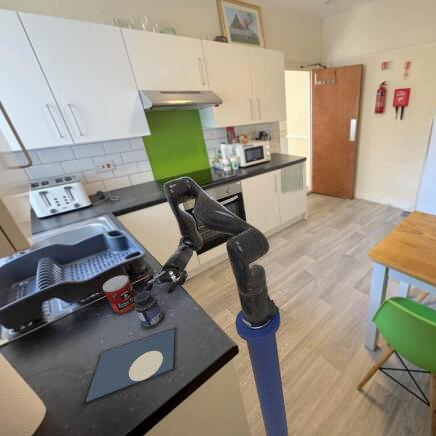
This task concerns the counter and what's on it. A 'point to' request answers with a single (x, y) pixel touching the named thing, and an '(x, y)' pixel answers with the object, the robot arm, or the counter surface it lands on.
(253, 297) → the robot arm
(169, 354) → the placemat
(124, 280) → the canned food
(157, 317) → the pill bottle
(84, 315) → the counter surface
